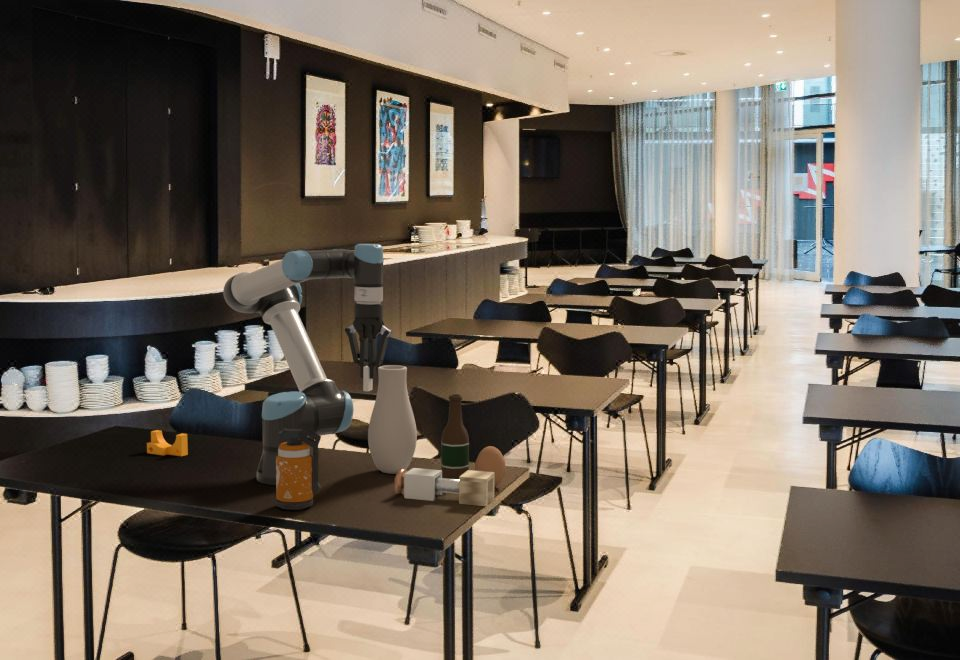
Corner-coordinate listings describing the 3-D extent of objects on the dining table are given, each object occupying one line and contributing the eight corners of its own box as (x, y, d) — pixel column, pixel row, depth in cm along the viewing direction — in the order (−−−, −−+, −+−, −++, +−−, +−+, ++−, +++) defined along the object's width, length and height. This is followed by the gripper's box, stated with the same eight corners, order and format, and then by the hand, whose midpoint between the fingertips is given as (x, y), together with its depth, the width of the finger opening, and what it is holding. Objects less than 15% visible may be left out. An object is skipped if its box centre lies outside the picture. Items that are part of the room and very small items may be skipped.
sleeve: (404, 498, 268) (404, 473, 267) (413, 491, 274) (413, 467, 273) (433, 500, 266) (433, 476, 265) (441, 494, 272) (442, 470, 271)
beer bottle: (465, 485, 281) (466, 398, 278) (437, 483, 282) (438, 396, 279) (471, 478, 288) (472, 393, 285) (444, 476, 290) (444, 391, 287)
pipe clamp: (147, 453, 314) (146, 432, 314) (157, 450, 318) (156, 430, 317) (177, 458, 309) (177, 436, 308) (187, 455, 313) (187, 434, 312)
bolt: (394, 496, 269) (394, 472, 268) (403, 489, 275) (403, 466, 274) (481, 504, 262) (481, 479, 261) (488, 498, 268) (489, 473, 267)
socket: (459, 503, 263) (459, 476, 263) (467, 496, 270) (467, 470, 269) (486, 506, 261) (486, 479, 260) (494, 498, 268) (494, 472, 267)
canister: (278, 501, 263) (277, 424, 261) (322, 501, 264) (322, 424, 262) (274, 512, 254) (273, 431, 252) (320, 511, 255) (319, 431, 253)
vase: (370, 478, 287) (370, 371, 283) (365, 466, 300) (365, 364, 297) (420, 476, 290) (420, 370, 286) (412, 464, 303) (413, 363, 299)
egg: (509, 490, 276) (510, 448, 275) (479, 492, 274) (480, 450, 273) (500, 482, 284) (500, 442, 283) (471, 484, 282) (471, 443, 281)
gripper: (339, 302, 273) (339, 390, 276) (385, 305, 269) (384, 394, 272) (352, 300, 280) (351, 386, 283) (396, 302, 276) (395, 389, 279)
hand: (367, 390), depth 277 cm, fingers closed
